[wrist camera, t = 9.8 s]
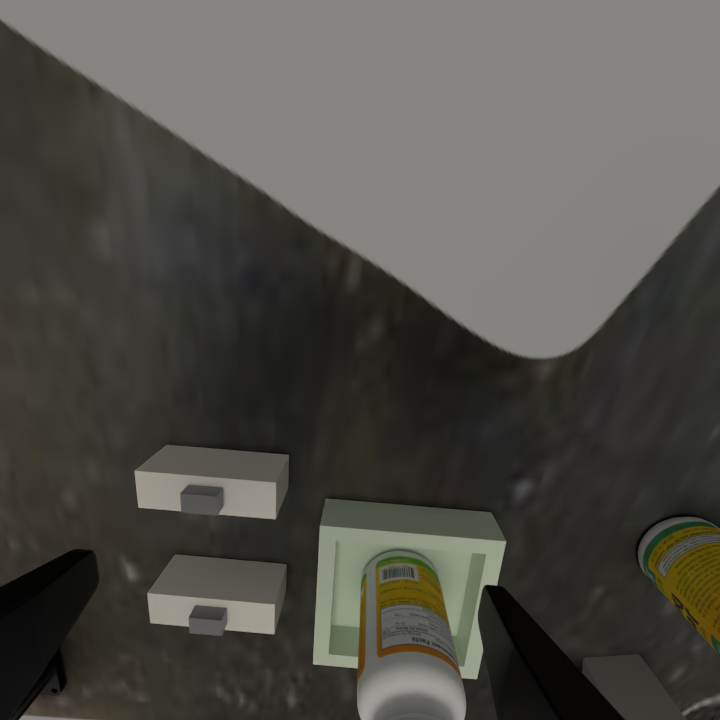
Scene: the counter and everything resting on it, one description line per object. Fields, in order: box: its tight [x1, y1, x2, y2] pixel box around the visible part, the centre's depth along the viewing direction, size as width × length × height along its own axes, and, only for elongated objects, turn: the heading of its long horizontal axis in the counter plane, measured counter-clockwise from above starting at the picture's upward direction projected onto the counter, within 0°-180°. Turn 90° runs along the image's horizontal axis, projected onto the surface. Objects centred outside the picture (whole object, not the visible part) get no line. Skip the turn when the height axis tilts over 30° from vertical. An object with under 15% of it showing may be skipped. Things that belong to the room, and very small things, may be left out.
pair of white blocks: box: [135, 445, 289, 636], centre depth 21 cm, size 11×8×4 cm
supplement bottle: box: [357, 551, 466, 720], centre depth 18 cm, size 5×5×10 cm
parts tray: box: [313, 498, 506, 679], centre depth 22 cm, size 11×11×2 cm
